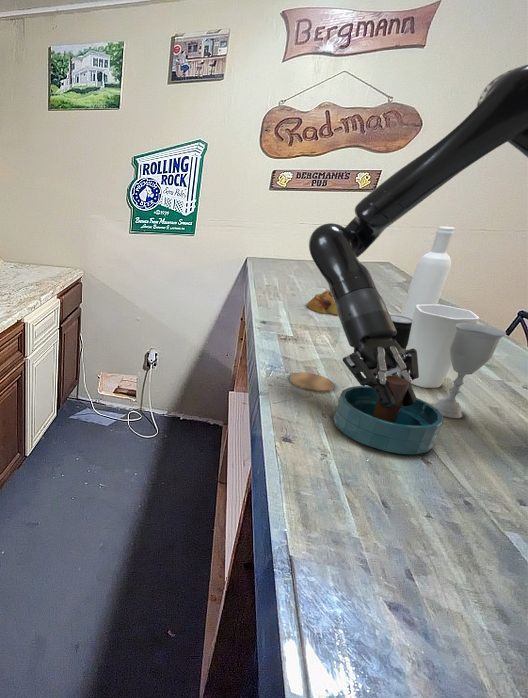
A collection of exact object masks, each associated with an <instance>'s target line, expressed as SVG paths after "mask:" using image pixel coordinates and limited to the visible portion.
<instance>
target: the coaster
mask: <svg viewBox="0 0 528 698" xmlns="http://www.w3.org/2000/svg"><path fill="white" fill-rule="evenodd" d="M289 381H290V382H291V383H292V384H293V385H294V386H296V387H297V388H300V389H303V390H307V391H311V392H317V393H326V392H327V393H328V392H331V391H333V390H334V389H335V383H334V382H333V381H332V380H330V379H329V378H327V377H325V376H322V375H319V374H315V373H310V372H295V373H292V374H291V375H290V376H289Z"/></svg>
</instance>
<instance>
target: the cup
mask: <svg viewBox="0 0 528 698" xmlns="http://www.w3.org/2000/svg"><path fill="white" fill-rule="evenodd" d="M480 319H481V318H480V317H479V316H478V315H477V314H476V313H475V312H474V311H472V310H469V309H464V308H459V307H455V306H450V305H445V304H439V303H438V304H430V305H416V306H415V310H414V315H413V320H412V325H411V330H410V336H409V341H408V345H407V348H406V350H410V349H412V348H414V349H415V350H416V351H417V358H418V370H419V378H417V379H414V380H412V381H411V385H414V386H416V387H417V386H418V387H421V388H425V389H429V388H430V389H431V388H433V389H434V388H440V387H441V385H442V384H443V382H444V381H445V378H446V377H447V375H448V374H449V372H450V370H451V368H453V366H452V362H451V357H450V348H451V345H452V342H453V340H454V337H455V335H456V332H457V329H456V324H459V323H471V324H478V322H479V320H480ZM409 374H410V370H409Z"/></svg>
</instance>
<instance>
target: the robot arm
mask: <svg viewBox="0 0 528 698" xmlns="http://www.w3.org/2000/svg"><path fill="white" fill-rule="evenodd" d="M506 143H509V144H510V145H511V146H512V147H514V148H515V149H516V150H518V151H519V152H520V153H521V154H522V155H524V156H525V157H526V158H527V159H528V64H524V65H521V66H518V67H515V68H512V69H510V70H507V71H506V72H504V73H501V74H500V75H497V77H495V78H494V79H492V80H491V81H490V82H489V83H488V84H487V85H486V86H485V87H484V88H483V90H482V91H481V93H480V95H479V97H478V99H477V103H476V107H475V108H474V109H473V110H472V111H471V112H470V113H469V114H468V115H467V116H466V117H465V118H464V119H463V120H462V121H461V122H460V123H459V124H458V125H457V126H456V127H455V128H454V129H452V130H451V131H450V132H449V133H448V134H446V135H445V136H444V137H443V138H441V139H440V140H439V141H438V142H436V143H435V144H433V146H431V147H430V148H429V149H427V150H425V151H424V152H423V153H422V154H420V155H419V156H417V157H416V158H414V159H412V160H411V161H410V162H408V163H407V164H406V165H404V166H403V167H402V168H400V169H398V170H397V171H396V172H394V173H393V174H392V175H391V176H390V177H388V178H387V179H385V180H384V181H383V182H381V183H380V184H379V185H377V186H376V187H375V188H374V189H373V190H372V191H370V192H369V193H368V194H367V195H366V196H365V197H363V198H362V199H361V200H360V201H359V202H358V203H357V204H356V205H355V206H354V209H353V210H354V215H355V216H354V217H353V218H352V219H351V220H350V221H349V222H348V224H347V225H346V226H343V225H340V224H338V223H333V222H331V223H323V224H321V225H319V226H318V227H316V228H315V229H314V230H313V231H312V233H311V235H310V237H309V240H308V251H309V254H310V256H311V258H312V261H313V262H314V264H315V266H316V267H317V269H318V270H319V272H320V274H321V275H322V277H323V278H324V279H325V282H326V283H327V285H328V288H329V290H330V291H331V294H332V296H333V299H334V302H335V305H336V308H337V313H338V316H337V317H338V319H339V322H340V324H341V327H342V330H343V332H344V335H345V337H346V339H347V342H348V345H349V346H350V347H351V348H353V352H351V353H349V354H348V355H346V356H344V357H343V358H342V363H344V365H345V366H346V368H347V369H348V371H350V373H351V374H352V375H353V377H354V378H355V380H357V382H358V383H359V386H370V387H371V388H373V389H374V392H375V394H376V397H377V399H378V402H379V404H380V405H381V406H382V407H383V408H389V407H392V406H395V401H394V398H393V396H392V393H391V391H390V388H389V386H388V385H385V384H386V376H397V377H401V378H404V379H406V380H408V381H409V386H408V389H407V392H406V395H405V397H404V400H403V403H402V405H403V406H410V405H413V404H416V398H417V396H416V394H415V391H414V389H413V385H412V384H411V381H412V380H414V379H417V378H419V370H418V358H417V351H416V350H415V349H414V348H412V349H410V350H407V348H406V349H403V348H401V346H400V345H399V344H398V343H397V342H396V340H395V336H396V334H397V331H396V328H395V326H394V324H393V321H392V319H391V317H390V315H391V314H390V312H389V310H388V307H387V305H386V303H385V301H384V299H383V297H382V296H381V294H380V292H379V291H378V288H377V286H376V283H375V282H374V279H373V277H372V275H371V273H370V270H369V269H368V267H366V265H364V264H363V263H362V262H360V260H359V257H360V256H361V255H363V254H364V253H365V252H366V251H367V250H368V249H369V248H370V247H371V246H372V245H373V244H374V242H375V241H376V240H377V239H378V238H379V237H380V236H381V234H382V233H383V232H384V231H385V230H386V229H387V228H388V227H390V226H391V225H393V224H394V223H395V222H397V221H399V220H400V219H401V218H402V217H404V216H405V215H406V214H408V213H409V212H410V211H412V210H413V209H414V208H415V207H417V206H418V205H419V204H420V203H422V202H423V201H425V200H426V199H427V198H428V197H430V196H431V195H432V194H434V193H435V192H436V191H437V190H439V189H440V188H441V187H443V186H444V185H445V184H447V183H448V182H449V181H451V180H452V179H453V178H455V177H456V176H457V175H458V174H460V173H461V172H463V171H464V170H465V169H467V168H468V167H470V166H471V165H473V164H474V163H476V162H477V161H478V160H480V159H482V158H484V157H485V156H486V155H488V154H489V153H491V152H493V151H494V150H496V149H498V148H499V147H501V146H502V145H504V144H506ZM394 366H397V367H395V368H392V367H394ZM409 370H410V374H409ZM398 374H399V375H400V376H399V375H398Z"/></svg>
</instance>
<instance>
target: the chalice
mask: <svg viewBox="0 0 528 698" xmlns="http://www.w3.org/2000/svg"><path fill="white" fill-rule="evenodd" d="M456 329H457V332H456V335H455V337H454V340H453V342H452V345H451V348H450V357H451V362H452V369H453V371H454V372H456V373H457V377H456V378H455V379H454V380H453V381H452V383H453V386H452V387H450V388H449V389H448V390H449V396H448V397H445V398H441V399H438V400H437V402H435V403H434V404H433V405H432V406H433V407H434V408H436V409H437V410H438V411H439V412H440V413H441V414H442V416H443V417H447V418H453V419H460V418H463V414H462V406H461V404H460V402H458V401H457V400H456V399H457V396H458V394H460V393H461V390H460V388H461V386H462V385H464V378H465V376H466V375H467V376H468V375H473V374H474V373H475V372H477V371H478V370H480V369H481V368H482V367H483V366H485V364H487V362H489V361H490V359H492V358H493V356H494V353H495V352H496V349H497V347H498V344H499V342H500V339H502V338H503V337H504V336H505V335H507V332H506V331H505V330H502V329H499V328H497V327H494V326H489V325H484V324H480V323H479V324H478V323H477V324H471V323H459V324H456Z"/></svg>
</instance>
